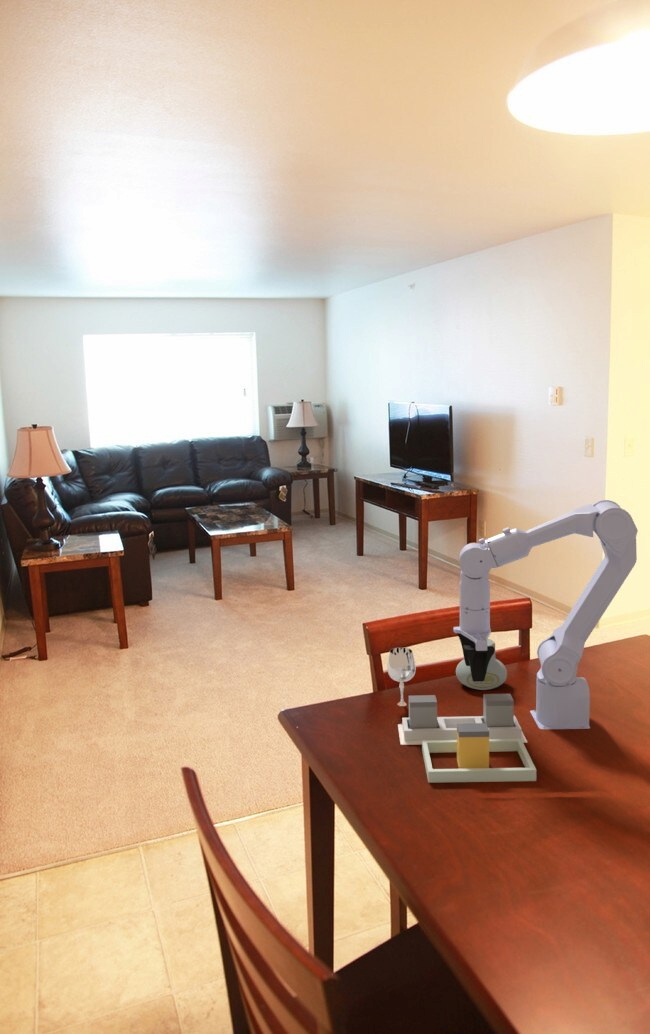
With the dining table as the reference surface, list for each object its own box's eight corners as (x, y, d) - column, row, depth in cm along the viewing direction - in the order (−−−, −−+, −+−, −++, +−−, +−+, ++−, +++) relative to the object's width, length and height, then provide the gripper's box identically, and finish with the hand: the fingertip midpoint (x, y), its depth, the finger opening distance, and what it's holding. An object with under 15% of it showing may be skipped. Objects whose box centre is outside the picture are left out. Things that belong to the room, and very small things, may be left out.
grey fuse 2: (509, 728, 135) (510, 693, 133) (513, 736, 132) (513, 700, 130) (483, 728, 135) (483, 694, 134) (486, 736, 132) (486, 701, 131)
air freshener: (456, 692, 153) (456, 648, 151) (455, 677, 161) (454, 635, 159) (508, 693, 151) (509, 649, 149) (504, 678, 159) (505, 635, 157)
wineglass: (415, 700, 149) (415, 646, 147) (416, 713, 144) (415, 656, 142) (388, 700, 150) (387, 646, 148) (388, 712, 144) (386, 656, 142)
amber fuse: (485, 760, 124) (485, 723, 122) (489, 769, 121) (489, 731, 119) (456, 761, 124) (456, 723, 123) (459, 770, 121) (459, 731, 120)
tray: (520, 751, 127) (521, 738, 127) (536, 784, 117) (536, 770, 116) (422, 753, 128) (421, 740, 127) (428, 785, 117) (428, 771, 117)
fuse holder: (517, 725, 137) (517, 712, 137) (527, 745, 129) (527, 732, 129) (397, 727, 138) (397, 714, 138) (400, 747, 130) (400, 734, 130)
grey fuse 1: (435, 729, 135) (435, 695, 134) (437, 737, 132) (437, 702, 131) (409, 730, 135) (408, 695, 134) (410, 737, 132) (409, 702, 131)
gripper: (448, 595, 144) (448, 659, 146) (459, 618, 130) (460, 688, 132) (483, 594, 144) (483, 658, 146) (498, 617, 129) (498, 687, 132)
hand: (474, 672), depth 139 cm, fingers open, 7 cm apart
